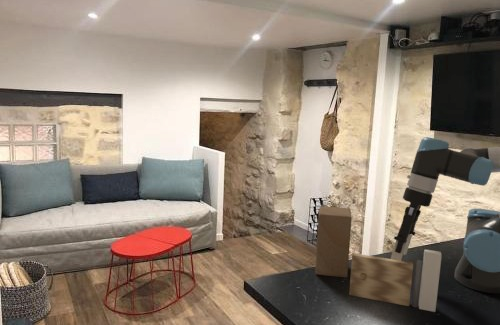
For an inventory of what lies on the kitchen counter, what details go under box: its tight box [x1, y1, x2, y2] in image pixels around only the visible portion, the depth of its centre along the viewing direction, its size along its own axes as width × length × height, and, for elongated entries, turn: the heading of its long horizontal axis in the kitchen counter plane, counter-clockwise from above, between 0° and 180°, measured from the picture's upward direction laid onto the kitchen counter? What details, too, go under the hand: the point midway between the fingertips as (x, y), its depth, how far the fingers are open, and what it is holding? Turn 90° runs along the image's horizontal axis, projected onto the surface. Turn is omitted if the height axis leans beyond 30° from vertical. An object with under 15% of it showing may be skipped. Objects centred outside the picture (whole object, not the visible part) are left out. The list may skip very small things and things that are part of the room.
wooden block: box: [314, 205, 353, 278], centre depth 129 cm, size 10×10×20 cm
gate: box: [348, 252, 414, 307], centre depth 111 cm, size 16×3×12 cm, turn 70°
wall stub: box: [411, 249, 442, 313], centre depth 107 cm, size 6×2×16 cm, turn 70°
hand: (398, 257), depth 119 cm, fingers open, 13 cm apart
